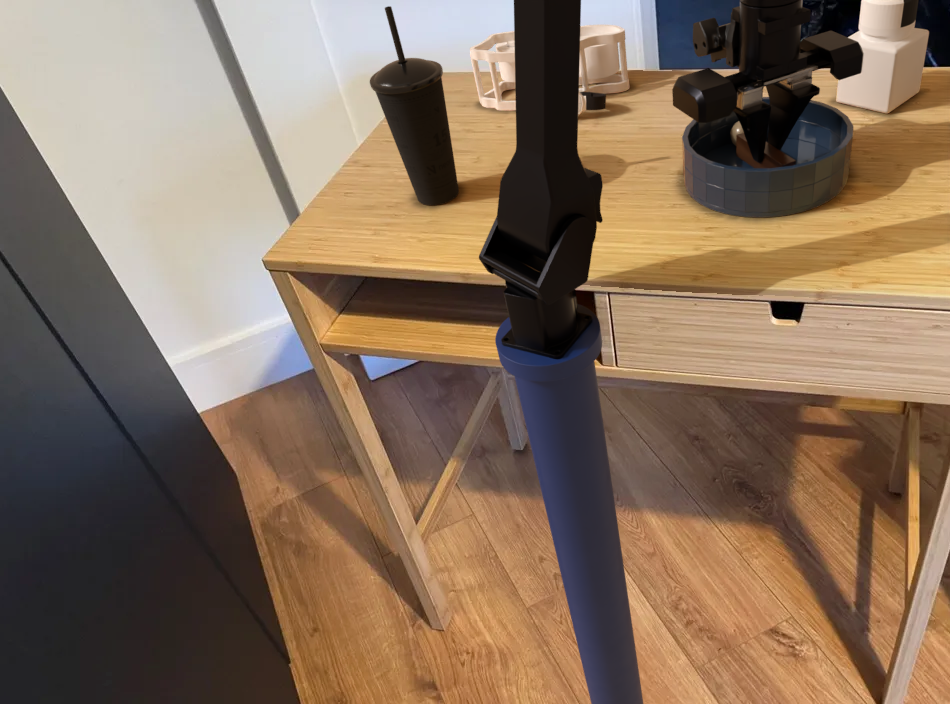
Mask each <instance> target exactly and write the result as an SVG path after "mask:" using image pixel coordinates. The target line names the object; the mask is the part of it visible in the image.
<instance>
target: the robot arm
mask: <svg viewBox="0 0 950 704" xmlns="http://www.w3.org/2000/svg"><path fill="white" fill-rule="evenodd" d="M803 1H804V0H739V6H735V7H732V9H731V13H730V22H729V23H725V24H722V25H719V23H718V21H717V19H716V18H715V17H710V18H707V19H703V20H700V21H697V22H693V24H692V26H693V27H692V44H693V50H694V53H695V55H696V56H697V57H698V58H701V57H705V56H709V55H710V60H711V63H716V62H717V61H721V60H722V59H725V64H726V66H729V67H731V68H735V67H736V68H738V72H736V73H733V74H730V75H729V74H728V75H725V76H724V75H723V74H720V73H719V72H717V71H715V70H713V69H711V68H709V67H706V68H704V69H700V70H697V71H693V72H690V73H687V74H684V75H681V76H678V77H677V79H676V80H675V82H674V83H673V86H672V90H671V91H672V92H671V93H672V94H671V95H672V107H674V108H676V109H677V110H679V111H680V112H681V113H683V114H684V115H686V116H687V117H690V118H691V119H692V120H693V119H694V120H695V121H697V122H698V123H708V122H711V121H714V120H717V119H721V118H724V117H727V116H730V115H731V113H732V112H733V111H734V112H735V114H736V116H737V118H738V120H739V122H740V124H741V127H742V129H743V132H744V135H745V138H746V140H747V143H748V146H749V149H750V152H751V155H752V157H753V159H754V160H755V161H756V162H758V163H759V162H761V161H762V158H763V154H764V151H765V145H766V138H767V131H768V143H769V144H770V145H772V146H774V147H775V148H777V149H778V150H781V148H782V147H783V145H784V143H785V141H786V139H787V138H788V136H789V134H790V132H791V130H792V129H793V127H794V125H795V124H796V122H797V120H798V119H799V117H800V116H801V114H802V113H803V111H804V110H805V108H806V107H807V105H808V103H809V102H810V100H812V99H813V98H814V97H816V96H819V95H820V92H821V88H820V87H819V86H817V85H815V84H814V83H813V72H816V71H819V70H821V69H824V68H828V67H829V73H830V74H831V75H832V77H833V78H835V79H836V80H837V81H838V80H842V79H845V78H848V77H851V76H854V75H857V74H860V73H861V71H862V65H863V56H864V53H863V50H862V48H861V45H860V44H859V42H857V41H855V40H852V39H850V38H848V37H849V36H848V37H847V36H845V35H844V34H843V35H842V34H841V33H838V32H835V31H833V30H828V31H825V32H821V33H818V34H815V35H812V36H807V37H805V38H802V39H801V34H802V33H801V31H802V25H803V24H807V23H810V22H811V9H809V8H806V7H804V6H803ZM581 14H582V0H513V31H514V40H515V89H514V91H515V92H514V93H515V101H516V110H515V135H516V139H515V140H516V142H515V145H516V146H515V150H514V151H515V152H514V154H513V155H512V157H511V158H510V161H509V163H508V165H507V167H506V168H505V170H504V173H503V175H502V176H501V179H500V185H499V192H498V193H499V194H498V202H497V212H496V217H495V219H494V221H493V224H492V226H491V228H490V230H489V233H488V235H487V237H486V239H485V241H484V244H483V246H482V248H481V251H480V252H479V255H478V260H479V261H480V263H481V264H482V265H483V267H484V268H485V269H486V271H487V272H488V273H489V274H491V275H495V276H497V277H499V278H500V279H502V280H504V282H505V283H504V284H505V289H504V290H503V297H504V300H505V306H506V310H507V314H508V317H509V319H510V323H511V329H510V330H509V331H508V332H507V334H506V335H505V336H504V337H503V338H502V339H501V342H502V345H503V346H506V347H510V348H514V349H518V350H521V351H525V352H529V353H533V354H537V355H541V356H545V357H549V358H552V359H561V358H562V357H563V356H564V355H565V354H566V353H567V351H568V350H569V349H570V348H571V347H572V345H573V344H574V343H575V342H576V341H577V340H578V338H579V337H580V336H581V335H582V334H583V332H584V331H585V330H586V329H587V328H588V326H589V325H590V324H591V323H592V316H591V315H588V314H584V313H580V312H577V309H578V305H577V304H578V299H577V293H576V289H578V288H579V287H581V286H582V285H584V284H586V283H587V282H588V281H589V275H590V267H591V262H592V261H591V260H592V254H593V248H594V242H595V240H596V234H597V228H598V223H600V224H602V222H603V220H604V219H603V216H602V212H601V199H602V193H603V187H604V184H603V179H602V174H601V173H600V172H597V171H594V170H592V169H590V168H587V167H585V166H584V164H583V162H582V160H581V158H580V155H579V148H578V141H579V140H578V138H579V137H578V136H579V135H578V134H579V115H578V102H579V88H580V85H579V76H580V75H579V62H580V26H581V23H582V22H581V20H582V19H581V17H582V15H581ZM764 88H766V92H767V95H768V96H767V97H769V100H770V105H769V104H767V103H766V102H764V101H762V99H763V97H764V95H763V93H764ZM768 125H769V126H768Z"/></svg>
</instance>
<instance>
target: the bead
mask: <svg viewBox="0 0 950 704" xmlns="http://www.w3.org/2000/svg"><path fill="white" fill-rule="evenodd" d="M741 133H744V132H743V129H742V127H741V124H740V122H739V121H738V122H736V123H735V124H734V125H733V127H732V129H731V133H730V137H731V141H732V142H733V144H734V145H735V146H736V135H738V134H741Z"/></svg>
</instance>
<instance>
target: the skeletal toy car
mask: <svg viewBox="0 0 950 704" xmlns="http://www.w3.org/2000/svg"><path fill="white" fill-rule="evenodd" d="M493 46H495V51H494V50H491V49H492V48H493ZM626 47H627V46H626V29H625V28H623V27H621V26H619V25H615V24H587V25H580V62H579V86H582V87H579V92H594V93H602V94H606V95H607V94H618V93H623V92H626V91H628V90H630V78H629V75H628V74H629V72H628V60H627V49H626ZM469 56H470V63H471V66H472V72H473V76H474V81H475V86H476V90H477V95H478V100H479V103H480V105H481V106H482V107H484V108H487V109H495V110H497V111H510V112H511V111H516V100H505V99H503V97H502V94H503V93H504V92H505V91H510V90H515V40H514V30H510V31H502V32H497V33H491V34H489V35H488V36H487V38H486V39H484V40H482V41H481V42H480V43H478V44H475V45H472V46H470V47H469ZM479 61H486V63H488V67H489V71H490V76H491V82H492V86H493V88H491V89H490V90H489V91H487V92H485V90H484V85H483V80H482V76H481V71H480V66H479V65H480V64H479ZM496 63H498V69H499V74H500V78H501V79H502V81H500V80H499V76H498V71H497V65H496ZM619 71H620V72H621V74H619V73H618V72H619ZM592 84H595V85H592ZM589 85H591V86H589Z"/></svg>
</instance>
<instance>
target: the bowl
mask: <svg viewBox="0 0 950 704" xmlns="http://www.w3.org/2000/svg"><path fill="white" fill-rule="evenodd" d="M762 101H764V102H766V103H767V104H769V105H770V100H769V96H763V99H762ZM738 121H739V120H738V118H737V116H736V114H735V112H734V111H733V112H732V113H731V115H730V116H727V117H724V118H721V119H717V120H714V121H711V122H708V123H698V122H697V121H695V120H694V119H692V120H691V121H690V122H689V123H688V124H687V126H685V128H684V131H683V134H682V137H681V145H682V172H683V179H684V180H683V183H684V188H685V190H686V192H687V194H688V196H689V197H690V198H692V199H693V200H694V201H695V202H696V203H697V204H699V205H700V206H703V207H704V208H707V209H709V210H712V211H714V212H718V213H721V214H725V215H730V216H733V217H734V216H735V217H743V218H777V217H785V216H790V215H791V216H792V215H796V214H800V213H803V212H807V211H810V210H813V209H815V208H818V207H820V206H822V205H824V204H826V203H828V202H830V201H831V200H833V199H834V198H835V197H837V196H838V195H839V194H840V193H841V192H842V191H843V189H844V188H845V187H846V185H847V183H848V180H849V179H848V178H849V174H850V166H851V157H852V148H853V146H852V145H853V140H854V139H853V138H854V124H853V123H852V121H851V119H850V118H849V115H847V114H845V113H844V112H843V111H841V110H840V109H839V108H837V107H835V106H832V105H829V104H828V103H825V102H822V101H817V100H814V99H813V100H812V99H811V100H810V102H809V103H808V105H807V107H806V108H805V110H804V111H803V113H802V114H801V116H800V117H799V119H798V120H797V122H796V124H795V125H794V127H793V129H792V130H791V132H790V134H789V136H788V138H787V139H786V141H785V143H784V145H783V147H782V148H781V150H780V151H782V152H783V153H785V154H786V155H788V156H789V157H791V158H793V159H794V160H796V165H793V166H785V167H777V168H753V167H752V166H750V165H749V164H748V163H746V162H745V161H743V160H742V159H740V158H739V157H737V156H736V146H735V145H734V144H733V142H732V141H731V137H730V133H731V129H732V127H733V125H734V124H735V123H736V122H738ZM768 126H769V125H768ZM766 142H767V143H768V131H767V138H766Z"/></svg>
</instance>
